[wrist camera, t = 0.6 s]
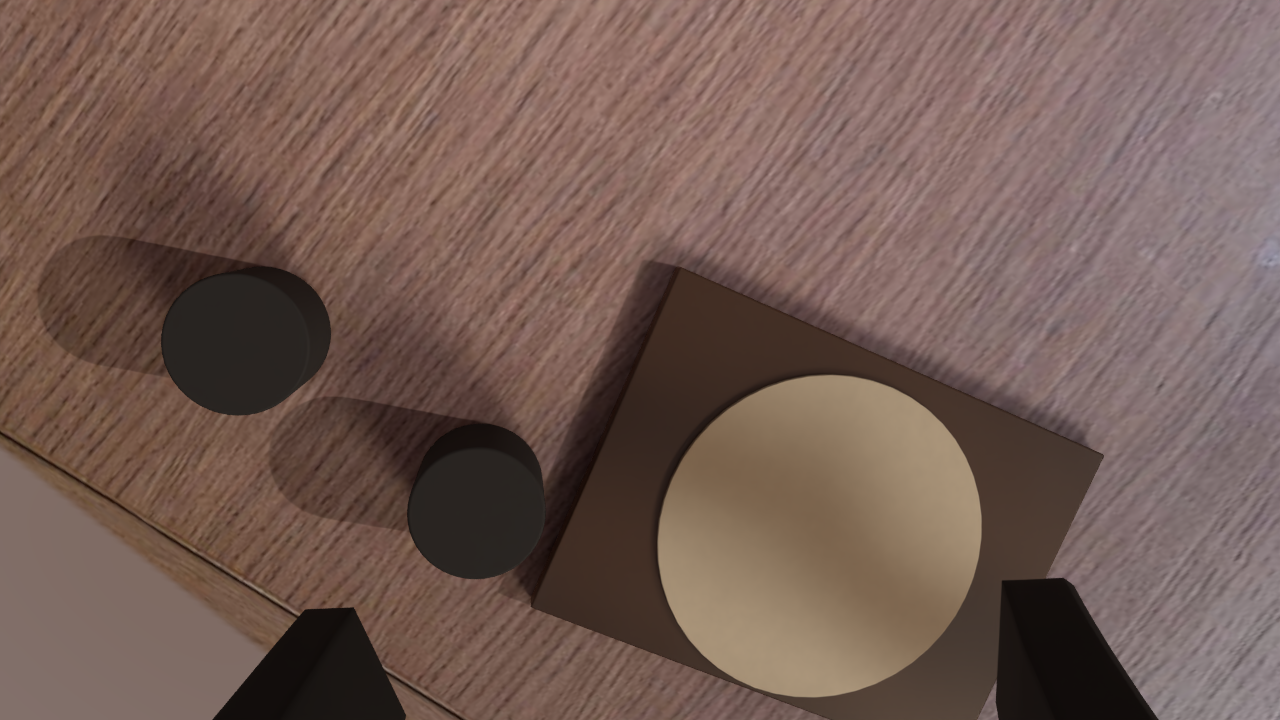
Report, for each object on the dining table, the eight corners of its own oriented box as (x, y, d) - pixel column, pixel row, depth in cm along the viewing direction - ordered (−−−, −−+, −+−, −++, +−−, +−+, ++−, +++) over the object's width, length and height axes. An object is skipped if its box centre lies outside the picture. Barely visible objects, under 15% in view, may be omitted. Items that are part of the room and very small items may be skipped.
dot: (513, 561, 35) (513, 599, 31) (398, 517, 34) (385, 551, 30) (561, 450, 34) (567, 477, 31) (446, 404, 34) (438, 425, 30)
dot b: (302, 414, 33) (278, 437, 30) (178, 365, 32) (138, 383, 29) (351, 297, 33) (332, 307, 29) (226, 245, 32) (191, 249, 29)
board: (946, 755, 37) (957, 770, 36) (529, 598, 35) (530, 609, 34) (1092, 450, 36) (1108, 456, 35) (676, 265, 34) (681, 267, 33)
